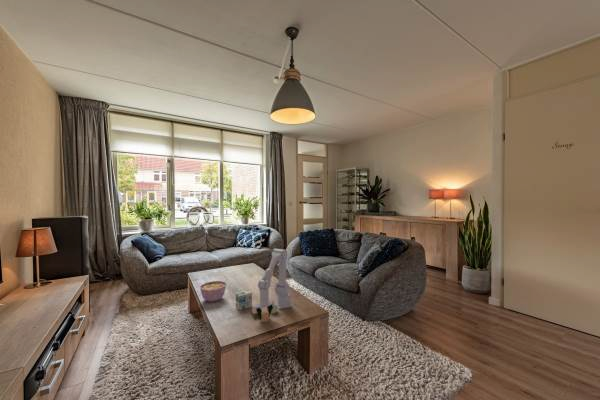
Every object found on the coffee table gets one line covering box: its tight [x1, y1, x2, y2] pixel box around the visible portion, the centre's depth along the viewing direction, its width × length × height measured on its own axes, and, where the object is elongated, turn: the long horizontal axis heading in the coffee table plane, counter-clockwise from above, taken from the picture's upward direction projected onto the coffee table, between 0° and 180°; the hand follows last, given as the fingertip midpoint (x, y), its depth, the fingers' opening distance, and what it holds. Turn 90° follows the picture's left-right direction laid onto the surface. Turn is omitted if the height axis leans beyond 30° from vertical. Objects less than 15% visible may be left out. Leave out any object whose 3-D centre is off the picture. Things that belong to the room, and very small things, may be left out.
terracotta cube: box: [260, 309, 270, 323], centre depth 161 cm, size 5×5×6 cm
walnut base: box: [251, 308, 263, 319], centre depth 167 cm, size 7×7×4 cm
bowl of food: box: [199, 280, 227, 303], centre depth 193 cm, size 20×20×12 cm
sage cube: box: [270, 302, 278, 315], centre depth 172 cm, size 5×5×6 cm
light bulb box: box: [235, 289, 253, 311], centre depth 180 cm, size 11×7×11 cm, turn 126°
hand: (264, 317), depth 161 cm, fingers closed on terracotta cube, 6 cm apart
